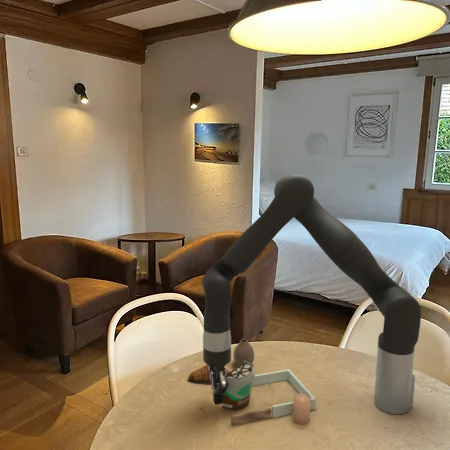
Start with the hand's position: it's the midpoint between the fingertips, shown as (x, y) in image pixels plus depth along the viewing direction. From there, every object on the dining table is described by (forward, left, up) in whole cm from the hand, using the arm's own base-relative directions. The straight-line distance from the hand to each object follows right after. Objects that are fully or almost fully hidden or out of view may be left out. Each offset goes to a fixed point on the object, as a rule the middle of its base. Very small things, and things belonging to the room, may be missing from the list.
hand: (217, 402), depth 115 cm
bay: (-19, 0, -2) cm, 19 cm away
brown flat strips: (-7, 0, -2) cm, 7 cm away
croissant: (-2, -15, -2) cm, 16 cm away
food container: (-7, 0, -2) cm, 7 cm away
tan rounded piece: (-20, +11, -2) cm, 23 cm away
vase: (-15, -20, -2) cm, 25 cm away
